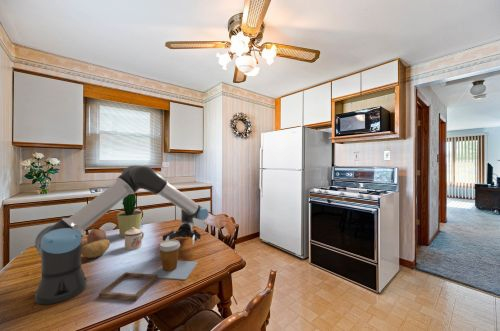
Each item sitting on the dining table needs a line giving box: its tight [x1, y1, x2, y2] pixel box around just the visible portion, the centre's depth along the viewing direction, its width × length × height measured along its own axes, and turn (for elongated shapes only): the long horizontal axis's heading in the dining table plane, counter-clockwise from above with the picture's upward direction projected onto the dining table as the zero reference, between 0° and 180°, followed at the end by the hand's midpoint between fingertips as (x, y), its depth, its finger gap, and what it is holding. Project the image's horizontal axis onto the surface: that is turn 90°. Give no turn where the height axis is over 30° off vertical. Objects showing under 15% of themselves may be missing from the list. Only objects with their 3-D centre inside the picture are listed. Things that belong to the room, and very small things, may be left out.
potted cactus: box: [116, 193, 143, 238], centre depth 148 cm, size 15×15×30 cm
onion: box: [86, 228, 107, 244], centre depth 131 cm, size 10×9×10 cm
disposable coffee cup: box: [158, 239, 181, 271], centre depth 102 cm, size 10×10×12 cm
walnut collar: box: [98, 272, 159, 302], centre depth 87 cm, size 15×15×2 cm
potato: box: [81, 238, 111, 259], centre depth 115 cm, size 10×14×8 cm
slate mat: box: [153, 260, 199, 281], centre depth 102 cm, size 16×16×1 cm
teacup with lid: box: [124, 227, 145, 251], centre depth 128 cm, size 12×9×12 cm
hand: (179, 242), depth 111 cm, fingers open, 13 cm apart
